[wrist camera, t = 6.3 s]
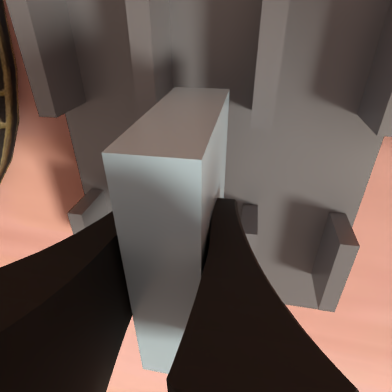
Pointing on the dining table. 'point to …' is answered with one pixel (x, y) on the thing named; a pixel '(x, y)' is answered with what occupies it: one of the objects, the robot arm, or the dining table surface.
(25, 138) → the dining table surface
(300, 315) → the dining table surface
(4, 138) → the decorative plate
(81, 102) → the grey slotted organizer
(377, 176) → the dining table surface
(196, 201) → the grey rectangular block
